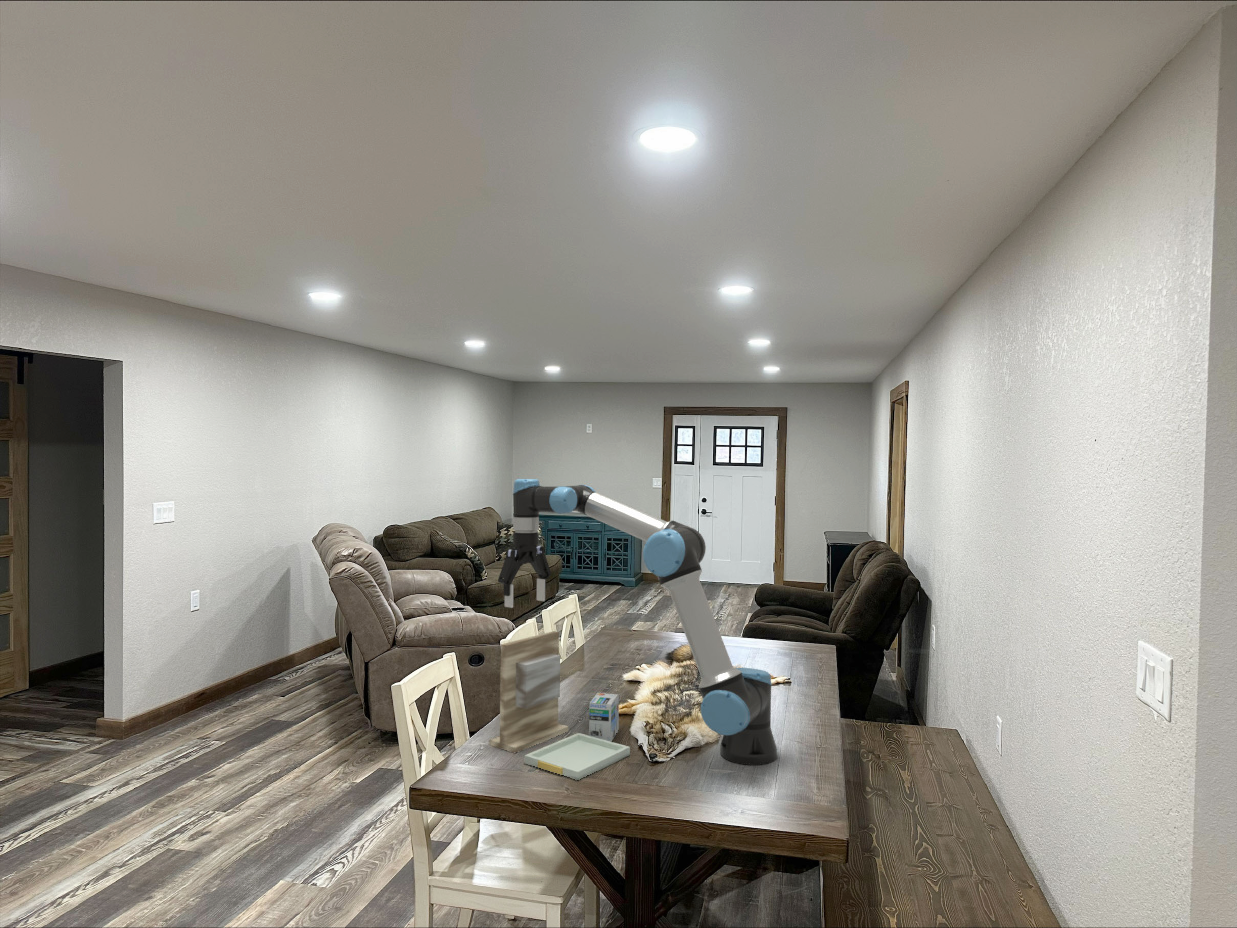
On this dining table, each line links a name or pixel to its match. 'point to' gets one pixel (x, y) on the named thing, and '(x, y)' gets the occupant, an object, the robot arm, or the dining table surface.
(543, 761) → the tray
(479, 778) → the dining table surface
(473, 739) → the dining table surface
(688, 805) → the dining table surface
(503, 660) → the wall unit
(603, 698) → the light bulb box
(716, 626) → the robot arm
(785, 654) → the dining table surface
